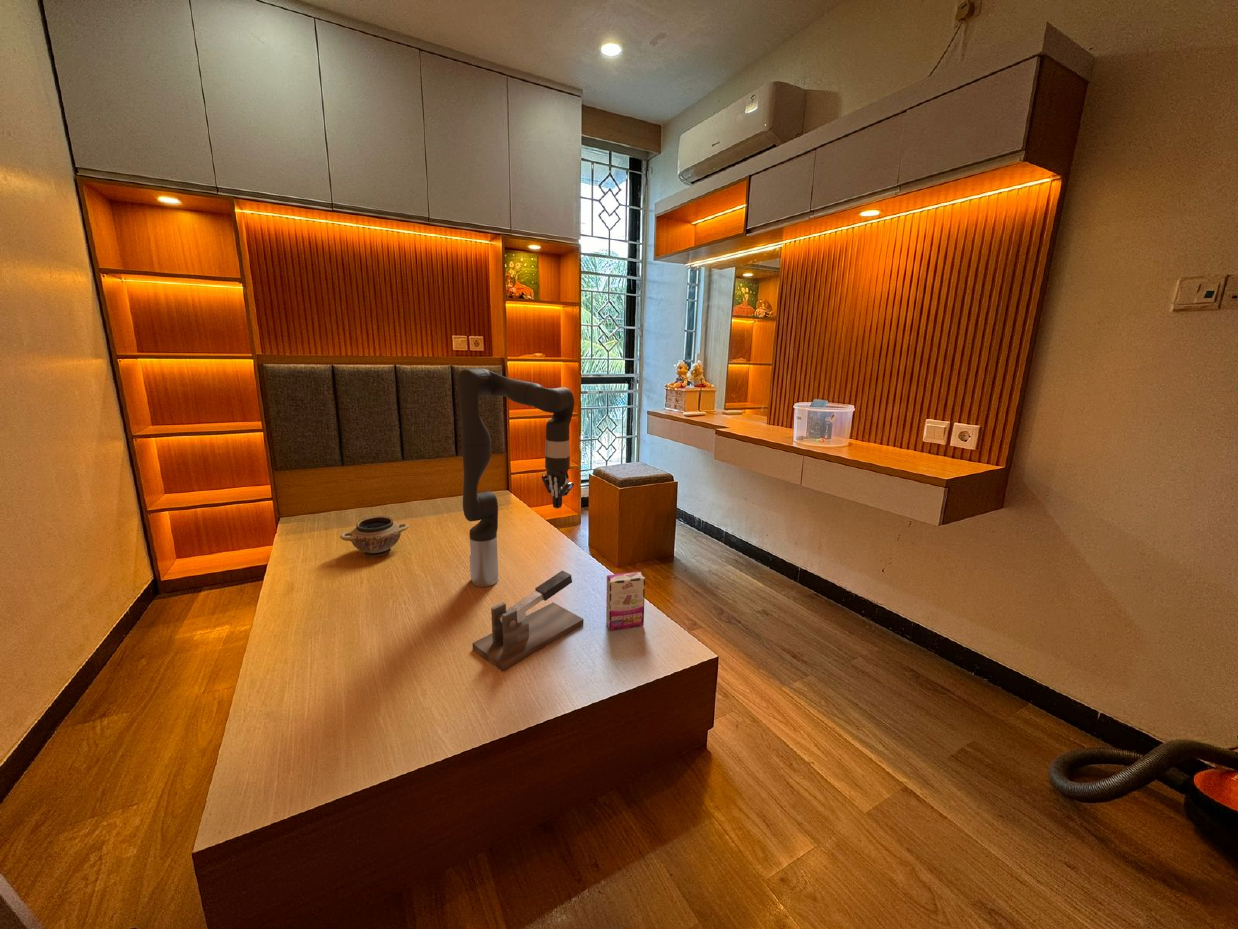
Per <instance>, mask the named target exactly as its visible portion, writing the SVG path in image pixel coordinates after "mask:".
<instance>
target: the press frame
mask: <svg viewBox="0 0 1238 929" xmlns="http://www.w3.org/2000/svg"><path fill="white" fill-rule="evenodd" d="M505 610H507V603H505V602H504V601H503V602H501V603H498V604H496V605H494V606H492V607H491V608H490V613H491V633H489V634H487V635H485V636H484V637H482V638H480V639H478V640H475V641H474V642H472V650H473V651H475V652H476V653H477V654H478V655H480V656H481V657H483V659H484V660H486V661H488V663H490V664H491V665H492V666H494V667H495V668H497V669H498V670H499V671H500V672H502V673H503V672H505V671H507V670H508V669H511V668H512V667H514V666H515V665H517V664H519V663H521V662H523V661H524V660H526V659H527V658H529V657H531V656H533V655H535V654H536V653H537V652H539V651H541V650H543V649H545V648H546V647H548V646H549V645H551V644H553V643H555V642H557V641H558V640H560V639H561V638H563V637H565V636H567V635H568V634H570V633H572V632H574V631H575V630H577V629H579V628H580V627H582V626H584V618H583V617H581V616H579V615H577V614H576V613H574V612H572V611H570V610H568V609H566V608H564V607H563V606H561V605H559V604H557V603H555V602H553V601H552V602H551V603H549V604H547V605H545V606H543V607H541V608H539V609H537V610H535V611H533V612H531V613H529V614H527V615H526V618H525V619H524V620H523V621H521V622H520V623H517V610H515V609H513V610H511V611H509V612H507V613H505ZM500 613H505V614H503V615H502V623H501V622H500V621H498V619H497V618H498V615H499V614H500Z"/></svg>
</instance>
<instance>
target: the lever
mask: <svg viewBox="0 0 1238 929" xmlns="http://www.w3.org/2000/svg"><path fill="white" fill-rule="evenodd" d="M572 583H573V579H572V574H570V573H568V572H566V571H564V570H561V571H559V572H558V573H556V574H555V575H553V576H552V577H549V579H547V580H545V581H544V582H542V583H541V584H539V585H538V586H536V587H535V589H534V591H533V592H531V593H530V594H528V595H527V596H526V597H524V598H522V599H521V600H519V601H518V602H516V603H515V604H513V605H511V606H510V607H509V608H506V610H505V613H507V612H509V611H511V610H513V609H515V610H517V623H520V622H521V621H523V620H524V619H525V618H526V616H527V615H526V614H527V613H526V612H527V611H529V610H530V609H532V608H533V607H535V606H536V605H538V604H539V603H540V602H543V601H547V600H549V599H550V598H552V597H554V596H555V595H556V594H557V593H559V592H561V591H562V590H563V589H565V588H566V587H568V586H569V585H571V584H572ZM505 613H500V614H499V615H498V618H497V619H498V621H500V622H501V623H502V615H503V614H505Z"/></svg>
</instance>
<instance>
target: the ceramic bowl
mask: <svg viewBox="0 0 1238 929" xmlns="http://www.w3.org/2000/svg"><path fill="white" fill-rule="evenodd" d="M409 528H410V525H409V524H408V523H403V522H401V523H395V522H394V520H393V518H391V517H389V516H386V515H376V516H370V517H365V518H363V519H361V520H358V522H357V523H356V527H355V528H353V529H352V530H351V531H344V532H342V533H341V534H340V535H339V538H340V539H341V540H342V541H346V542H351V543H352V545H353V547H355V549H357V550H359V551H361V552H363V553H364V555H365V556H368V557H379V556H380V557H381V556H384V555H386V554H388V553H389V552H391V548H392V547H394V546H395V545H396V544H398V542H399V540H400V538H401V533H402V532H404V531H406V530H408V529H409Z"/></svg>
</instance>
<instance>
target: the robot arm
mask: <svg viewBox="0 0 1238 929" xmlns="http://www.w3.org/2000/svg"><path fill="white" fill-rule="evenodd" d="M456 390H457V399H458V406H459V411H460V412H459V413H460V422H461V424H460V426H461V448H462V462H463V464H462V466H463V487H462V489H463V490H462V510H463V514H464V515H463V516H464V517H465V519H466V520H467V521H468V522H476V521H479V522H477V524H475V525H474V526H472V527H471V528H470V530H469V548H470V550H469V551H470V555H469V566H470V567H469V569H470V571H469V572H470V580H471V583H472V585H473V586H475V587H480V588H484V587H490V586H491V587H492V586H493V585H495V584H497V582H499V556H498V535H497V534H498V529H499V528H498V527H499V502H498V499H497V496H496V494H495V493H494V492H493V491H490V490H487V491H481V492H478V487H479V483H480V479H481V477H482V476H483V475H484V474H483V473H484V472H485V470H486V469H487V467H488V465H489V464H490V460H491V459H492V458H491V457H492V439H491V438H492V437H491V434H490V432H489V430H488V428H487V427H486V424H485V423H484V421H483V420H482V417H481V415H480V409H479V408H480V406H479V398H483V397H487V396H499V397H500V396H501V397H505V398H507V399H509V400H511V401H512V402H514V403H517V404H521V405H524V406H529V407H533V408H535V409H538V410H540V411H542V412H545V413H548V414H549V413H550V414H552V417H551V418H550V419H549V420H548V421H547V422H546V425H545V444H544V458H545V459H544V468H545V469H546V474H544V475H542V476H541V480H542V482H543V484H544V486H545V489H546V491H547V493H548V494H551V496H552V507H553V508H554V509H557V510H558V509H560V508H562V506H563V497H565V496H568V494H569V493H570V491H571V490H572V489H573V488H574V486H575V483H574V482H573V481H572V482H571V481H570V480H569V478H570V476H569V470H570V468H571V444H570V424H571V422H572V417H573V412H574V410H575V408H574V407H575V397H574V394H573V392H572V390H571V389H570V388H568V387H562V386H560V387H556V388H555V387H553V388H547V387H544V386H543V385H542V384H539V383H536V382H532V381H531V382H530V381H525V380H519V379H514V378H509V377H507V376H503V375H501V374H498V373H496V372H493V371H491V370H488V369H486V368H481V367H480V368H479V367H478V368H465V369H463V370H460V371H459V373H458V375H457V378H456Z"/></svg>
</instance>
